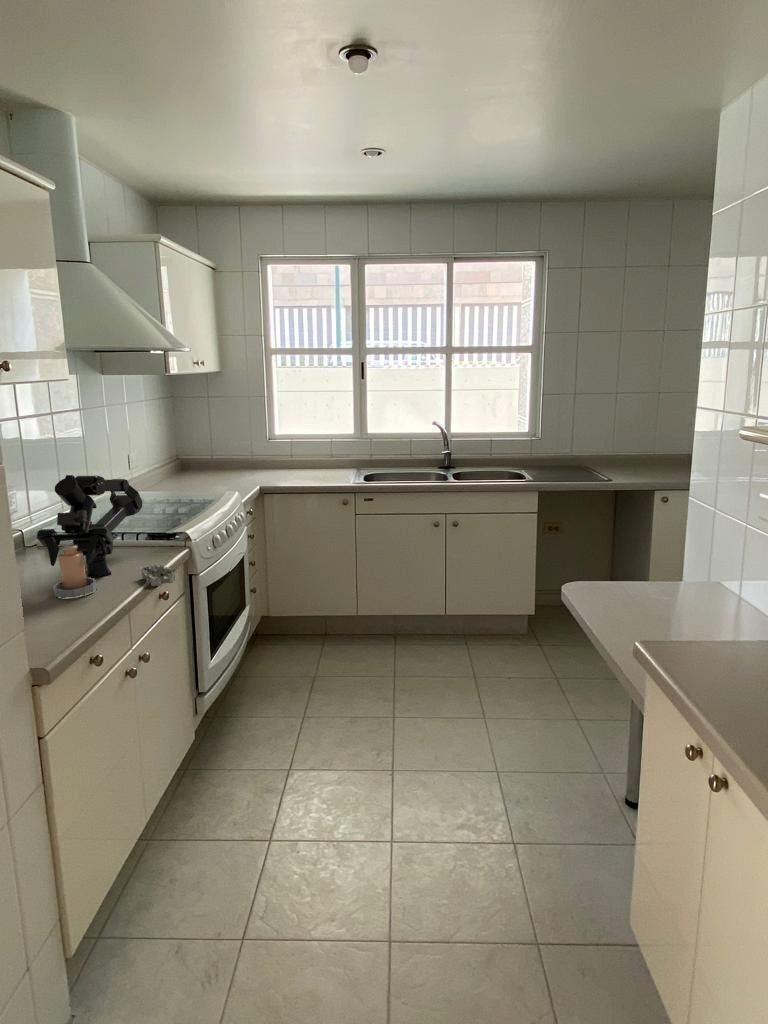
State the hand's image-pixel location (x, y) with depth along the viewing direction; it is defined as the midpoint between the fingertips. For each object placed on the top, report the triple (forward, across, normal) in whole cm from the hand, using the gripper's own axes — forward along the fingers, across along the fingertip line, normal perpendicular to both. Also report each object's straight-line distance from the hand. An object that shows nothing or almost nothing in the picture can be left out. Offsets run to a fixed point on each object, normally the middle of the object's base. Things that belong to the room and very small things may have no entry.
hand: (69, 564), depth 180 cm
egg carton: (0, +20, +13) cm, 24 cm away
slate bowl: (+5, 0, +7) cm, 8 cm away
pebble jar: (+4, 0, +6) cm, 8 cm away
